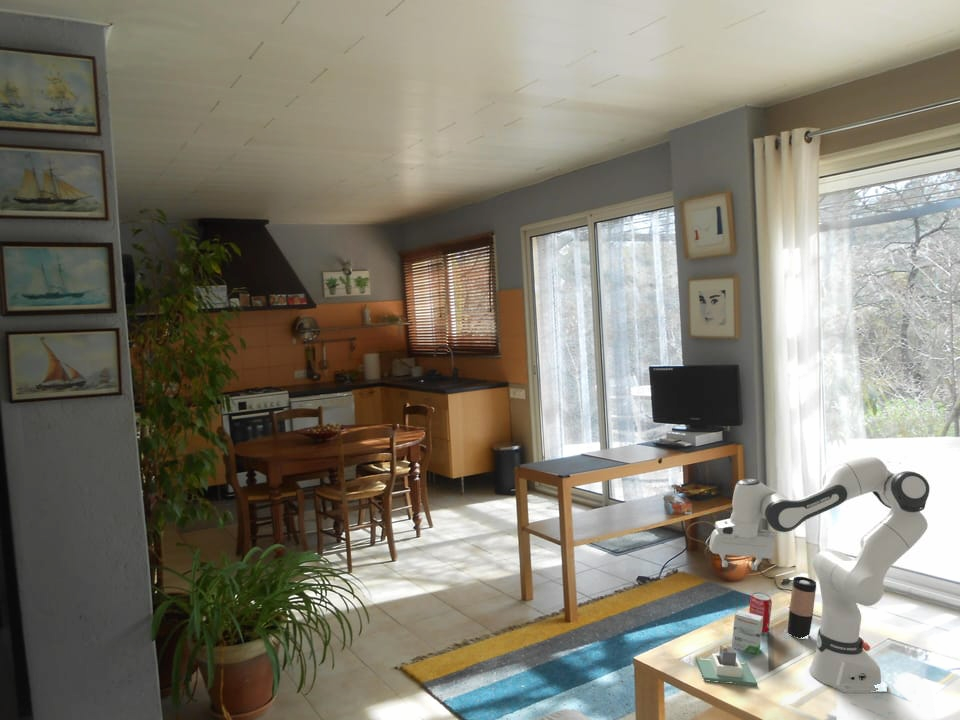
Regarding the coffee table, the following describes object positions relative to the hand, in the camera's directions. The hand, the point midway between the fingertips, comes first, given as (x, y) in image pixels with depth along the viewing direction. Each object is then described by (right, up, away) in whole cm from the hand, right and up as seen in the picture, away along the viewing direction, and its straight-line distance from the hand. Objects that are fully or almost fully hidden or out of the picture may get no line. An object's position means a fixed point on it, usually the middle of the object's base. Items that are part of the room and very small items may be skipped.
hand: (739, 567), depth 245 cm
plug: (-8, -29, -11) cm, 32 cm away
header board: (-8, -30, -11) cm, 33 cm away
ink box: (+4, -29, +6) cm, 30 cm away
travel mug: (+27, -29, +18) cm, 44 cm away
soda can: (+13, -28, +19) cm, 37 cm away
